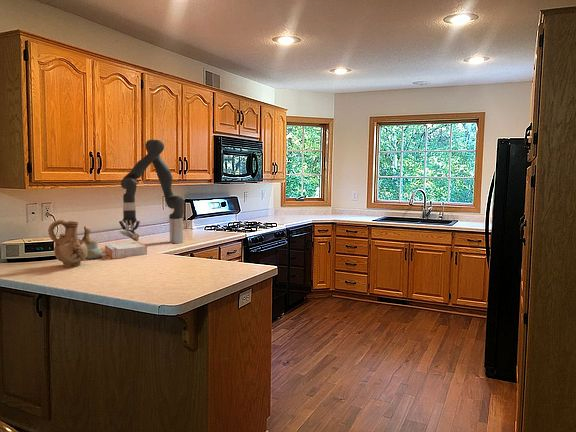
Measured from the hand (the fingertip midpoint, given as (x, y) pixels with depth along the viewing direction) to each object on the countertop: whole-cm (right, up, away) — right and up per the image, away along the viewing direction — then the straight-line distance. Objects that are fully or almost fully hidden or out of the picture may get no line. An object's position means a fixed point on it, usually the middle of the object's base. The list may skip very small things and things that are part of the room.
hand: (130, 236), depth 303 cm
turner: (0, 0, +1) cm, 1 cm away
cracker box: (+13, -7, -13) cm, 20 cm away
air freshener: (-12, -12, -28) cm, 33 cm away
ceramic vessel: (-13, -14, -50) cm, 54 cm away
